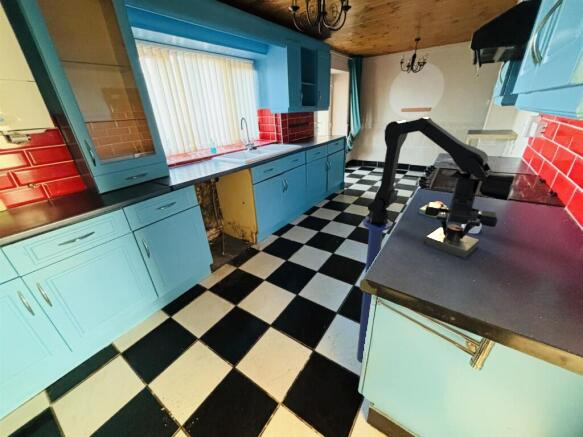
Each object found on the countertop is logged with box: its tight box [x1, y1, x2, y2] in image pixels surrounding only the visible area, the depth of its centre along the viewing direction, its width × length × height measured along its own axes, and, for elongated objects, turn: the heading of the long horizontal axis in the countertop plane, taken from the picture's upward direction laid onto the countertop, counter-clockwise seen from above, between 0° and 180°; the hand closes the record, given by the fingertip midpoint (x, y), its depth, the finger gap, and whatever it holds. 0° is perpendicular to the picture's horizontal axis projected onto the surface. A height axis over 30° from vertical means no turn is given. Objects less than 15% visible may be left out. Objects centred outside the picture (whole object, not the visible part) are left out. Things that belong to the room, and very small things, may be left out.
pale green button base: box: [418, 204, 449, 219], centre depth 103 cm, size 11×9×4 cm
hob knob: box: [445, 224, 463, 241], centre depth 79 cm, size 4×4×4 cm
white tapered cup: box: [461, 210, 483, 234], centre depth 88 cm, size 7×7×7 cm
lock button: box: [433, 200, 445, 207], centre depth 102 cm, size 4×4×2 cm
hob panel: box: [425, 227, 480, 259], centre depth 80 cm, size 12×10×3 cm
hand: (452, 236), depth 80 cm, fingers closed on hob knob, 4 cm apart
